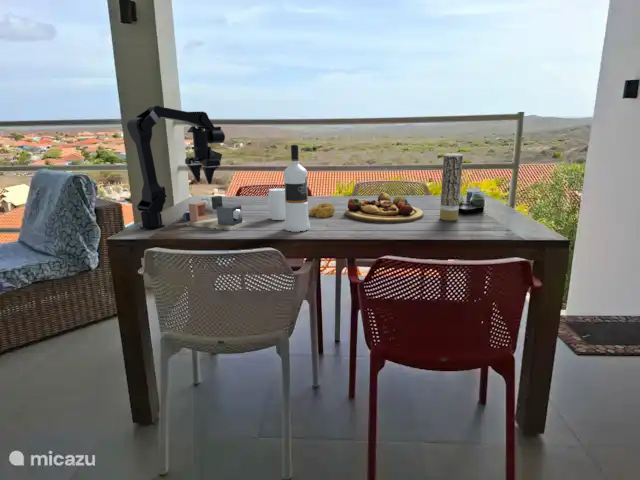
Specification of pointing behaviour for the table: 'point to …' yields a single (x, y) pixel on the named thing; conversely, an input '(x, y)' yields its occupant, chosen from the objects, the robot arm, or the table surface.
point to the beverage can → (276, 203)
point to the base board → (215, 224)
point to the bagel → (322, 210)
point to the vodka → (296, 195)
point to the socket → (197, 211)
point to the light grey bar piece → (206, 199)
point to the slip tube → (218, 202)
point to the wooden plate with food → (383, 210)
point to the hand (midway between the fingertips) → (204, 182)
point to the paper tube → (451, 186)
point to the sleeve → (228, 215)
